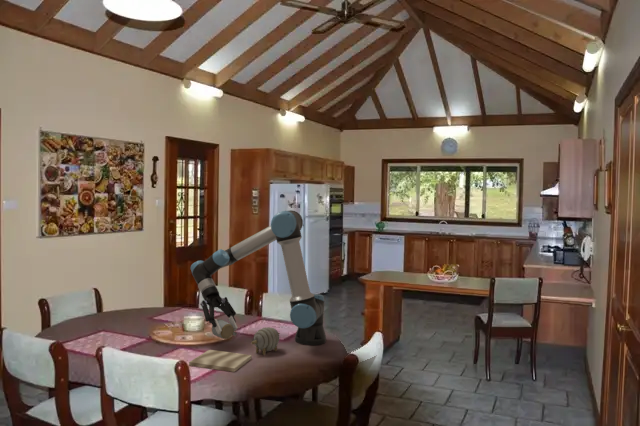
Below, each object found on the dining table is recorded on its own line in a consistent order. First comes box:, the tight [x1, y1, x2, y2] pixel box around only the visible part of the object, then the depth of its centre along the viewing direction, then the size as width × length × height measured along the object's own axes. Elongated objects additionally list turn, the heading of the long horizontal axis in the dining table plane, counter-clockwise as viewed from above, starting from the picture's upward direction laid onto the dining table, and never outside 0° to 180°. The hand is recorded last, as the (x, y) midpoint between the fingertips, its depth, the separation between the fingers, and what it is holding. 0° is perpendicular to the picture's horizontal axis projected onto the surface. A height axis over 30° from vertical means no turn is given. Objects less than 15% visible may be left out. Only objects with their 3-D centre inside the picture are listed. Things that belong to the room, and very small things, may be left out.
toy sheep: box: [250, 326, 281, 356], centre depth 242 cm, size 11×17×11 cm, turn 147°
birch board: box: [188, 349, 253, 373], centre depth 226 cm, size 20×18×2 cm
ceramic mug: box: [211, 318, 238, 340], centre depth 247 cm, size 11×8×8 cm
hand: (227, 331), depth 244 cm, fingers closed on ceramic mug, 8 cm apart
